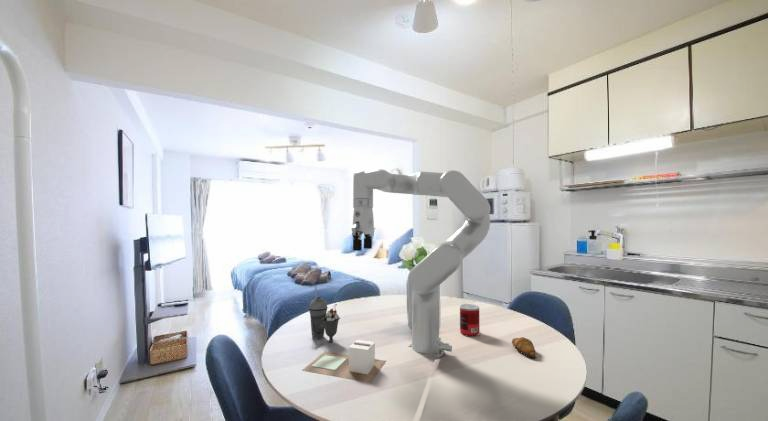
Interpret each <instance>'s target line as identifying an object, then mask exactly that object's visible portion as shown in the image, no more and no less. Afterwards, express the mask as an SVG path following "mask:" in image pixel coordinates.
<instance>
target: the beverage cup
mask: <svg viewBox="0 0 768 421" xmlns="http://www.w3.org/2000/svg"><path fill="white" fill-rule="evenodd" d="M314 290H315V298H313V299H312V300H311V302H310V303H309V307H308V309H309V314H310V316H309V317H310V318H309V319H310V328H311V330H310V331H311V338H312V340H322V339H324V337H325V336H324V335H325V325H324V321H322V318H323V317H324V316H323V314H324V315H325V316H326V313H327V312H328V303H327V301H326V300H325V299H324V298H322V297H321V296H319V297H318V292H317V286H314Z"/></svg>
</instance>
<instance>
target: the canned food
mask: <svg viewBox="0 0 768 421" xmlns="http://www.w3.org/2000/svg"><path fill="white" fill-rule="evenodd" d="M459 331H460V332H459V333H460V334H461V333H462V334H463V336H465V335H467V336H466V337H470V336H474V337H477V336H476V335H478V334H479V335H480V307H479V305H476V304H472V303H471V304H470V303H465V304H460V305H459ZM462 334H461V335H462ZM479 335H478V336H479Z"/></svg>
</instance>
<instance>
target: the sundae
mask: <svg viewBox="0 0 768 421" xmlns="http://www.w3.org/2000/svg"><path fill="white" fill-rule="evenodd" d="M337 305H338V304H337V303H336V304H334V306H333V307H332V308H330V309H329V310H327V312H326V316H325V315H324V314H323V316H324V317H323V318H322V321H324V325H325V330H324V333H325V335H326V336H327V337H328V338H329V341H328V343H329V344H333V343H334V340H333V338H334V336H335V335H336V334H337V333H338V332H337V331H338V325H339V321H340V319H341V318H340V317H339V316H340V315H339V314H338V313H337V308H336V306H337Z"/></svg>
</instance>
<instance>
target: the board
mask: <svg viewBox="0 0 768 421" xmlns="http://www.w3.org/2000/svg"><path fill="white" fill-rule="evenodd" d="M386 362H387V360H384V359H377V358H375V366H374V367H373V368H372V369H371V371H370V372H369V373H368V374H363V373H357V372H351V371H349V354H345V353H338V352H332V351H331V352H330V351H324V352H322V353H321V354H320V355H319V356H318V357H316V358H315V359H314V360H312V361H311V362H310V363H309V364H308V365H307V366H305V367H304V368H303V369H302V370H301V371H302V372H308V373H314V374H320V375H325V376H331V377H336V378H342V379H347V380H353V381H359V382H364V383H369V384H371V383H372V382H373V381H374V380H375V378H376V376H377V375H378V374H379V373H380V371H381V370H382V368H383V366H384V365H386Z"/></svg>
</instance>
